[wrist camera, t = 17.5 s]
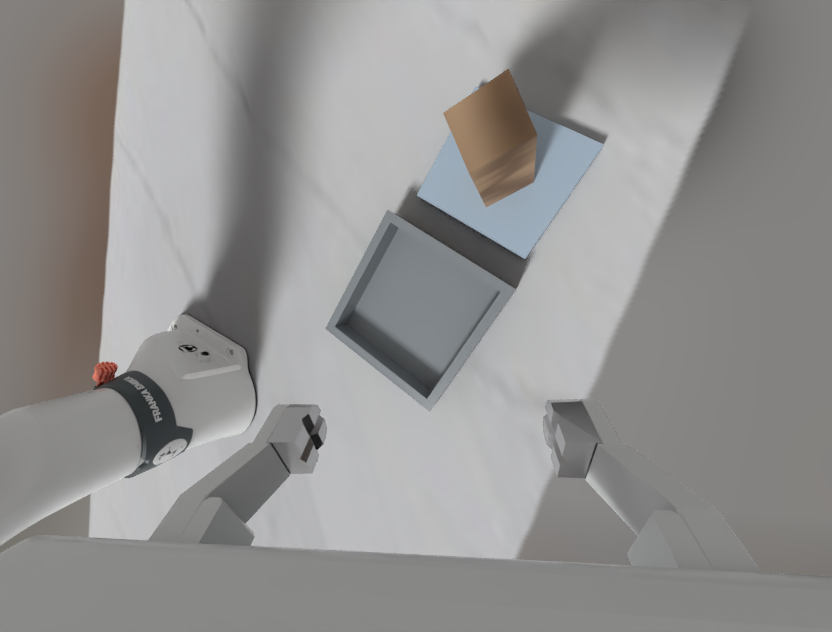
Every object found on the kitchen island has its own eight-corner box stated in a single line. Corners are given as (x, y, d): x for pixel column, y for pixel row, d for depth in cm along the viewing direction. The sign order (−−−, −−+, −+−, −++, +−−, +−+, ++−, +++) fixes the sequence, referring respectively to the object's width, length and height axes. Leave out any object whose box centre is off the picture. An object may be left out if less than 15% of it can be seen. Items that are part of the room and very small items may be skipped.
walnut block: (486, 207, 31) (469, 173, 22) (467, 163, 32) (442, 111, 22) (533, 182, 30) (537, 133, 20) (513, 135, 30) (507, 66, 20)
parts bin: (341, 325, 40) (325, 328, 37) (400, 216, 36) (387, 209, 32) (438, 400, 36) (429, 411, 33) (516, 288, 32) (515, 289, 29)
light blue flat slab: (419, 197, 35) (416, 195, 34) (477, 92, 32) (475, 86, 31) (525, 259, 31) (524, 258, 30) (601, 149, 28) (603, 144, 27)
